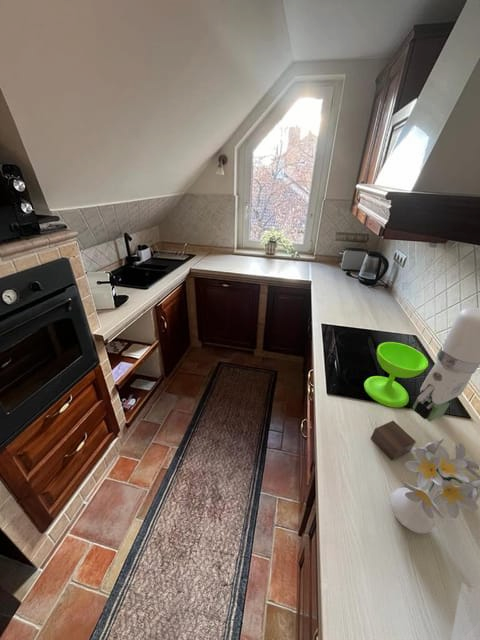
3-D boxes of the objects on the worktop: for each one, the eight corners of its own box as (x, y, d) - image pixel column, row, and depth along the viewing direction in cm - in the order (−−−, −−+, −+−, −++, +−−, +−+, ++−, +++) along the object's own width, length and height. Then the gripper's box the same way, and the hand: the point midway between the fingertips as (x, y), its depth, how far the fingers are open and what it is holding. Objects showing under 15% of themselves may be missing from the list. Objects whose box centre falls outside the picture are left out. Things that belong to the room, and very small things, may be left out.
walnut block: (388, 430, 85) (393, 420, 82) (410, 451, 78) (416, 441, 76) (370, 438, 82) (375, 428, 79) (391, 461, 75) (397, 451, 73)
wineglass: (385, 373, 108) (400, 339, 99) (419, 401, 95) (439, 365, 86) (355, 381, 104) (367, 346, 95) (385, 412, 91) (403, 374, 82)
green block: (424, 402, 72) (431, 389, 69) (442, 416, 68) (450, 403, 65) (412, 407, 70) (418, 394, 67) (429, 422, 66) (437, 409, 63)
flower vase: (366, 527, 61) (403, 470, 48) (393, 473, 72) (428, 415, 60) (428, 581, 53) (492, 531, 40) (447, 511, 64) (502, 454, 52)
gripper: (451, 379, 53) (418, 433, 63) (497, 359, 59) (462, 412, 68) (417, 358, 59) (392, 410, 69) (463, 342, 65) (434, 392, 74)
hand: (427, 410), depth 68 cm, fingers closed on green block, 5 cm apart
